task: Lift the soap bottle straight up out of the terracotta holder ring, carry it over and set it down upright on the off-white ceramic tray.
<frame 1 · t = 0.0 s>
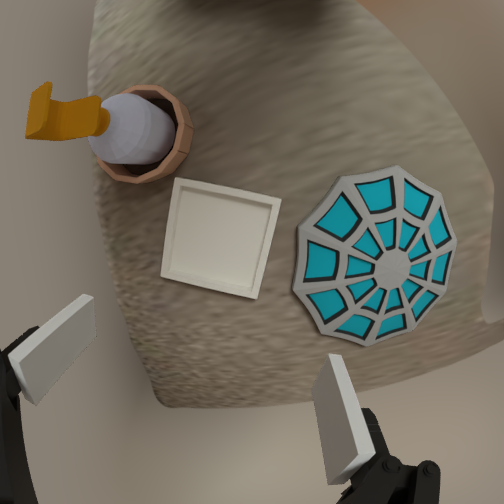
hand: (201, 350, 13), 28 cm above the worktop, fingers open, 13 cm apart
tray: (219, 236, 41), on the worktop
decorative platform: (380, 260, 41), on the worktop
soap bottle: (149, 136, 37), resting in holder ring
holder ring: (148, 136, 37), on the worktop
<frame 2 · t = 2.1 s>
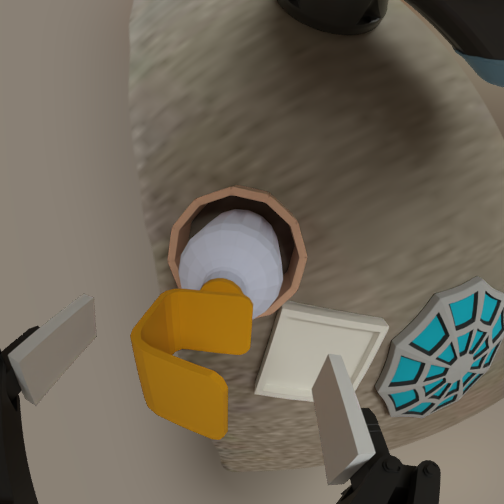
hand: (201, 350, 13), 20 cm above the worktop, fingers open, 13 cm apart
tray: (317, 354, 36), on the worktop
decorative platform: (447, 353, 37), on the worktop
soap bottle: (240, 246, 33), resting in holder ring
holder ring: (239, 246, 33), on the worktop
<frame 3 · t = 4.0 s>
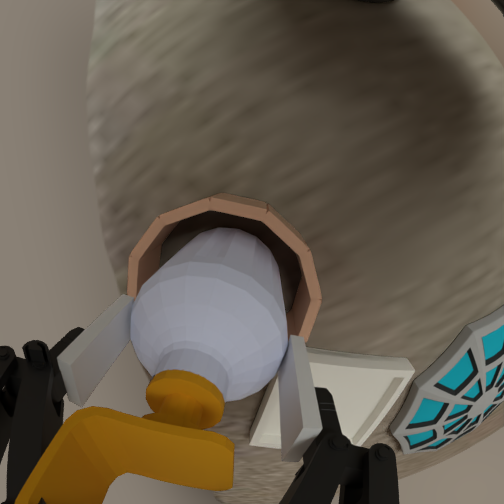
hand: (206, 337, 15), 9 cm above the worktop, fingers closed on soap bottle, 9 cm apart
tray: (326, 401, 28), on the worktop
decorative platform: (469, 385, 28), on the worktop
soap bottle: (227, 276, 24), resting in holder ring, touching gripper
holder ring: (227, 277, 24), on the worktop
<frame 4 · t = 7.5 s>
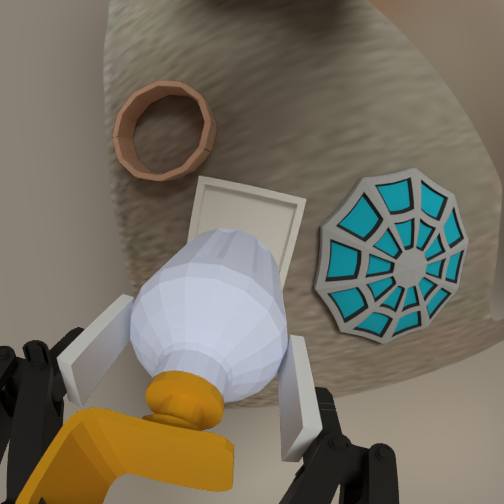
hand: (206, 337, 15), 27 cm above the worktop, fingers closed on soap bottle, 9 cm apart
tray: (242, 235, 41), on the worktop
decorative platform: (397, 259, 41), on the worktop
soap bottle: (227, 277, 24), point 17 cm above the worktop, touching gripper
holder ring: (169, 133, 37), on the worktop
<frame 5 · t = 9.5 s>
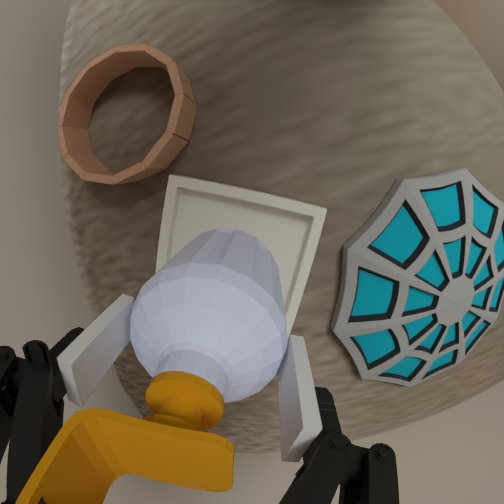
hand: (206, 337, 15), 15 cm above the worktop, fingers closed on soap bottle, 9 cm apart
tray: (233, 259, 29), on the worktop
decorative platform: (436, 286, 29), on the worktop
soap bottle: (227, 277, 24), point 5 cm above the worktop, touching gripper
holder ring: (133, 117, 25), on the worktop
when the fingers open (12 cm above the worktop, at t = 11.1 s): soap bottle drops 1 cm, resting on tray.
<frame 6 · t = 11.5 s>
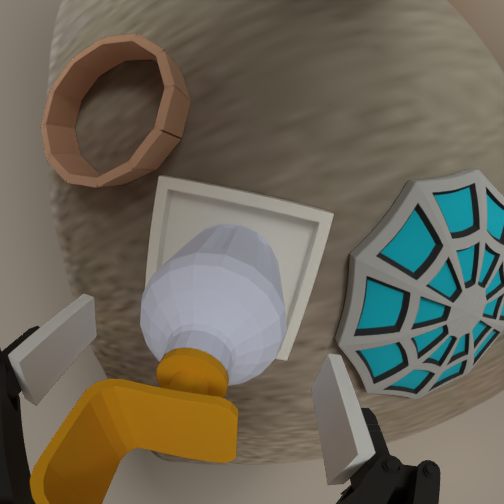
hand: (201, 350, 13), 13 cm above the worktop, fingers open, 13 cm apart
tray: (230, 268, 26), on the worktop
decorative platform: (446, 294, 27), on the worktop
soap bottle: (229, 271, 25), point 1 cm above the worktop, touching tray
holder ring: (122, 114, 22), on the worktop
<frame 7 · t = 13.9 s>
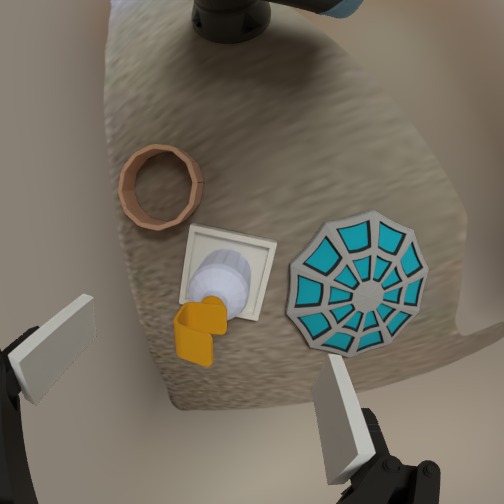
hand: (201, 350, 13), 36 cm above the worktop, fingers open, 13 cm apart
tray: (226, 270, 50), on the worktop
decorative platform: (359, 287, 51), on the worktop
soap bottle: (226, 272, 49), point 1 cm above the worktop, touching tray
holder ring: (165, 186, 47), on the worktop
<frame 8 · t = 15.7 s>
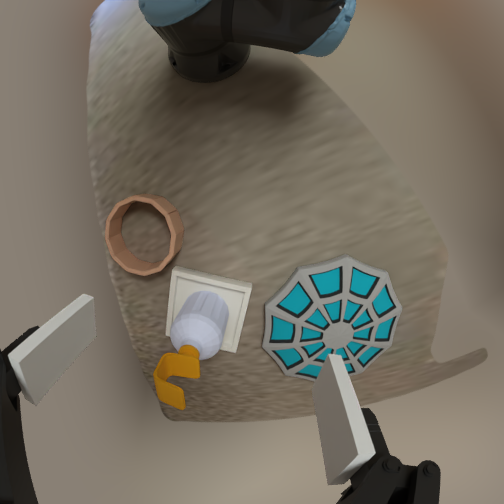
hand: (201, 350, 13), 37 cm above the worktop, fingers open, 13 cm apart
tray: (207, 308, 54), on the worktop
decorative platform: (333, 323, 54), on the worktop
soap bottle: (206, 310, 53), point 1 cm above the worktop, touching tray
holder ring: (148, 231, 50), on the worktop
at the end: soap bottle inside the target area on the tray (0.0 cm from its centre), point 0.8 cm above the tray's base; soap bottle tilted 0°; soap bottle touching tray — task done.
